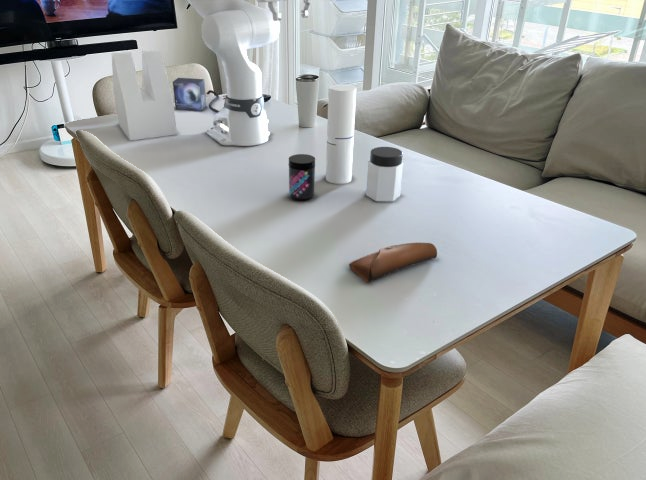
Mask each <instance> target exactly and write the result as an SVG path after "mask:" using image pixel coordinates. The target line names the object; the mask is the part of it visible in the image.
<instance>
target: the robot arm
mask: <svg viewBox="0 0 646 480" xmlns="http://www.w3.org/2000/svg"><path fill="white" fill-rule="evenodd" d="M186 1H187V2H188V4H189V5H190V6H191V8H192V9H194V11H195V12H197V13H198V14H199V16H200V17H201V18H202V19H203V20H202V22H201V26H200V35H201V38H202V41H203V43H204V45H205V46H206V47H207V48H208V49H209V50H210V51H212V52H213V53H214V54H215V55H216V57H217V58H218V59H219V61H220V63H221V65H222V68H223V71H224V78H225V88H226V95H222V97H223V98H222V100H223V101H224V104H223V107H222V108H220V110H218V109H216V108H214V107H213V106H212V105H213V104H214V103H215V102H217V101H218V100H219V99H220V96H219V94H218V93H217V92H215V91H214V90H211V89H209V90H207V92H206V95H210V94H213V95H214V96H215V98H213V99H212V100H211V101H210V102H209V104H208V108H209V110H211V111H212V112H214V113H215V114H214V116H213V120H212V121H213V122H212V123H213V127H209V128H208V129H206V134H207V135H208V136H209V137H211V139H214V140H215V141H216V142H217V143H219V144H220V145H221V146H238V147H250V146H257V145H262V144H264V143H266V142H268V141H269V136H270V135H271V131H270V130H269V128H268V123H269V119H268V118H267V112H266V110H265V109H264V106H265V99H264V94H263V84H262V82H263V81H262V77H263V75H262V71H261V69H260V67H259V65H257V64H256V63H254V62H253V61H250V60H249V58H248V54H247V50H249V49H256V48H262V47H265V46H268V45H270V44H273V43H274V42H276V41H277V39H278V38H279V35H280V31H281V24H280V21H282V13H281V12H279V11H278V8H277V6H278V2H284V1H285V2H286V0H256V2H257V3H260V4H261V3H262V4H263V3H267V7H268V8H264V7H261V6H257V5H255V4H253V3H252V2H249V1H246V0H186ZM302 2H303V4H304V6H303V10H300V14H301V15H300V17H301V18H303V19H304V18H305V19H306V18H310V15H311V14H310V10H311V8H312V5H313V0H303V1H302Z"/></svg>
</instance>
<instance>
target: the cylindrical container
mask: <svg viewBox="0 0 646 480" xmlns="http://www.w3.org/2000/svg"><path fill="white" fill-rule="evenodd" d="M327 89H328V91H327V93H328V94H327V98H328V99H327V123H326V124H327V125H326V159H325V180H326V181H327V182H329V183H330V184H336V185H343V184H348V183H350V182H351V181H352V176H353V172H352V171H353V154H354V137H355V136H354V135H355V118H356V117H355V116H356V103H357V102H356V100H357V87H356V86H355V85H352V84H345V83H336V84H331V85H329V86H328V88H327Z"/></svg>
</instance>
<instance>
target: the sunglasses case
mask: <svg viewBox="0 0 646 480" xmlns="http://www.w3.org/2000/svg"><path fill="white" fill-rule="evenodd" d="M437 256H438V250H437V246H436V245H434V244H433V243H431V242H407V243H401V244H395V245H388V246H386V247H382V248H380V249H378V251H375V252H373V253H370V254H367V255H363V256H362V257H360V258H357V259H355V260H353V261H351V262H350V263H349V264H348V267H349V268H350V270H351V271H352V272H353V273H354V274H356V276H358V277H359V278H361V280H362V281H365V282H366V283H370V282H371V281H375V280H378V279H381V278H383V277H386V276H387V275H390V274H392V273H395V272H397V271H399V270H402V269H406V268H409V267H411V266H413V265H418V264H421V263H423V262H426V261H428V260H432V259H436V258H437Z"/></svg>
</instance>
